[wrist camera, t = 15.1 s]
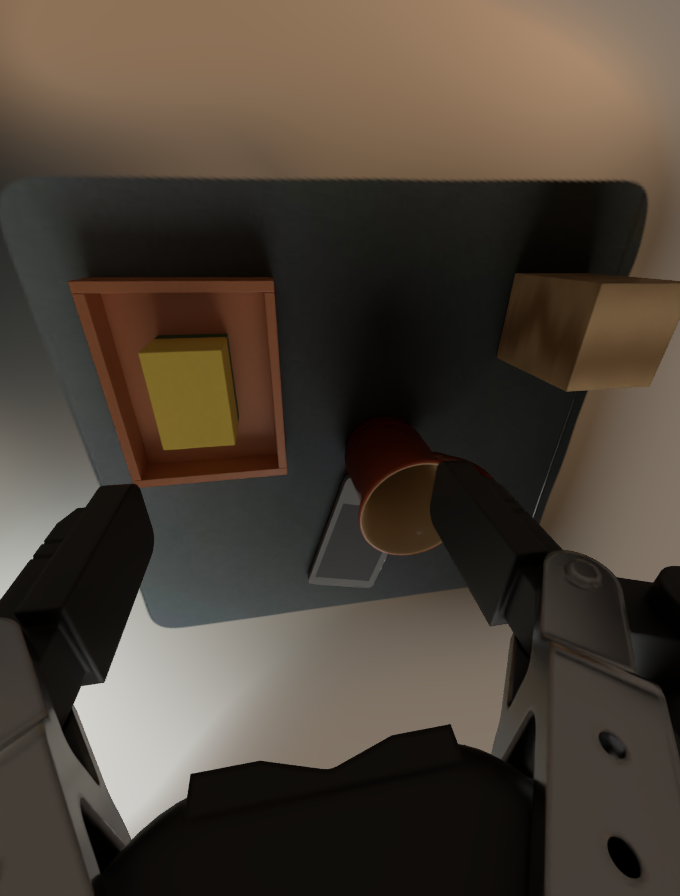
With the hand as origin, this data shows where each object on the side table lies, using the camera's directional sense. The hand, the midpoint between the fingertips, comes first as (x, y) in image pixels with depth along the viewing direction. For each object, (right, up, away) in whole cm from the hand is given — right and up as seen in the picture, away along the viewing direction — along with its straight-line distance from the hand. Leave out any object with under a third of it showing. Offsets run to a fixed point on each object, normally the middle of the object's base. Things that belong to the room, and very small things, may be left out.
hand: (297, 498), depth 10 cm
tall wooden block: (+19, +13, +22) cm, 32 cm away
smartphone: (+3, -8, +31) cm, 32 cm away
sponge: (-10, +7, +19) cm, 22 cm away
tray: (-10, +7, +19) cm, 23 cm away
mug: (+7, +2, +26) cm, 27 cm away
